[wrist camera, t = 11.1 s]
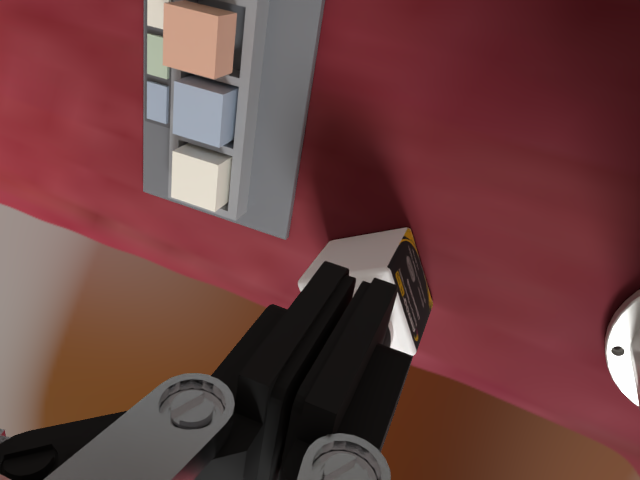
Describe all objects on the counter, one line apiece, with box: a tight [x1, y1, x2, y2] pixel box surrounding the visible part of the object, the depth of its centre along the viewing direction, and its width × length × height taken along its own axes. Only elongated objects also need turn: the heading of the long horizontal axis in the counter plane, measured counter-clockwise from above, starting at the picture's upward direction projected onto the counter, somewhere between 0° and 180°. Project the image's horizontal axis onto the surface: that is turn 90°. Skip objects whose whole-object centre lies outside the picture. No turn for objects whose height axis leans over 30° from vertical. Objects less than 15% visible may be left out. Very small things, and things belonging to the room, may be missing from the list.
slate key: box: [173, 75, 239, 148], centre depth 42 cm, size 4×4×2 cm
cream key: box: [171, 143, 233, 212], centre depth 45 cm, size 4×4×2 cm
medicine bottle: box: [298, 227, 433, 356], centre depth 41 cm, size 7×7×12 cm
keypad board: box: [143, 0, 325, 240], centre depth 42 cm, size 14×25×2 cm, turn 171°
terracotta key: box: [163, 0, 237, 79], centre depth 38 cm, size 4×4×2 cm
